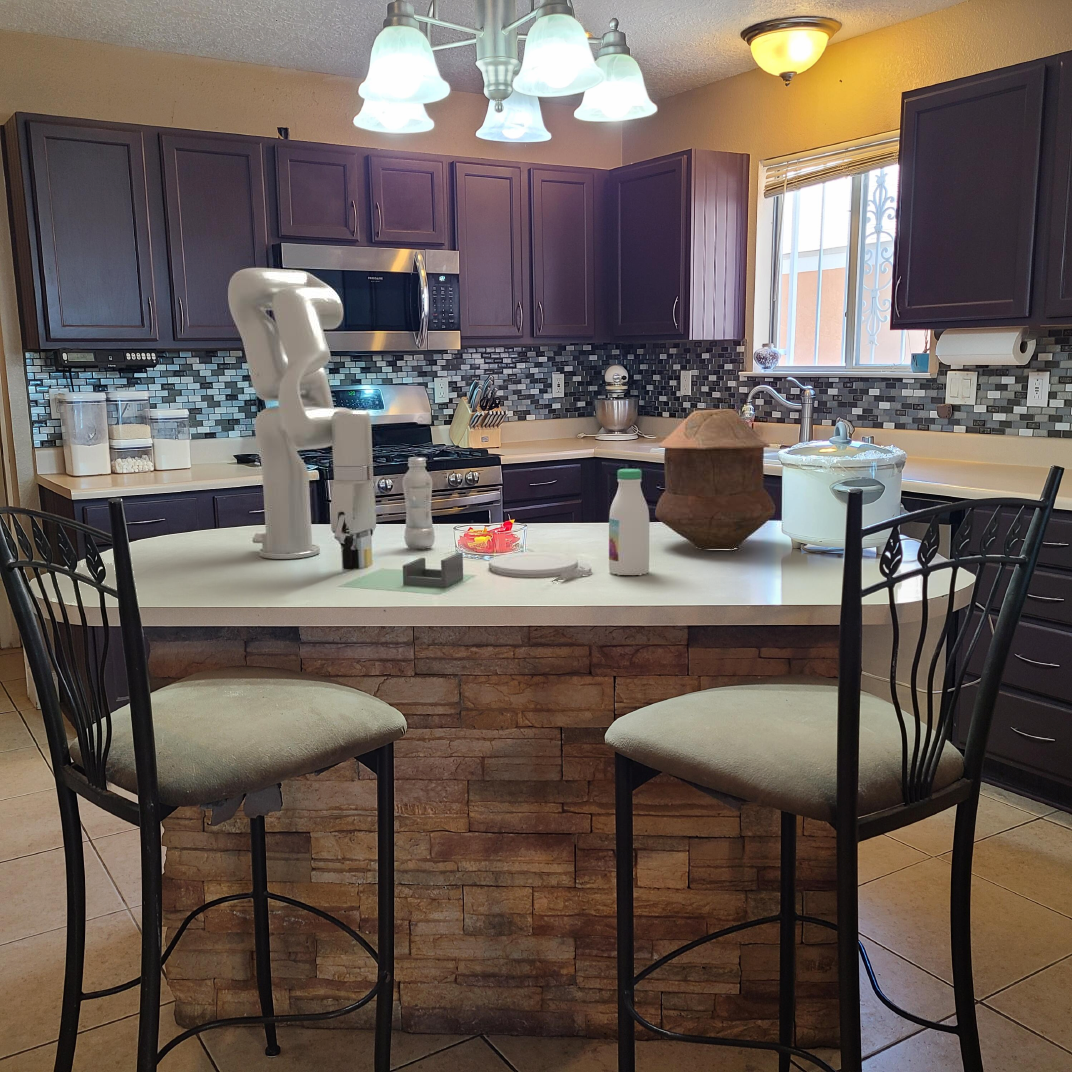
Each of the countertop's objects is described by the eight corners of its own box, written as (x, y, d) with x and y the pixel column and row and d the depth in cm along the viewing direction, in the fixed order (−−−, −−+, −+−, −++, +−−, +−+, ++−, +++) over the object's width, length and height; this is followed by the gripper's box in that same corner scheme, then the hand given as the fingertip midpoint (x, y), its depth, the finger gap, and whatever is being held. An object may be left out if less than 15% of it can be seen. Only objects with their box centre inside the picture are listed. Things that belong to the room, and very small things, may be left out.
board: (338, 592, 177) (338, 586, 177) (382, 574, 192) (381, 568, 192) (439, 601, 170) (439, 594, 170) (476, 581, 185) (476, 575, 185)
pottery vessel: (778, 561, 200) (783, 412, 195) (651, 558, 205) (652, 412, 200) (770, 538, 226) (774, 405, 220) (657, 536, 230) (659, 406, 225)
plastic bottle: (430, 552, 214) (427, 459, 210) (400, 551, 215) (397, 459, 212) (439, 546, 220) (436, 456, 217) (409, 545, 221) (407, 456, 218)
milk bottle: (652, 569, 194) (654, 468, 190) (643, 578, 186) (645, 472, 183) (614, 567, 196) (614, 466, 193) (604, 575, 189) (604, 471, 185)
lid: (601, 582, 185) (601, 566, 184) (495, 587, 181) (494, 571, 181) (581, 564, 201) (581, 549, 201) (483, 568, 198) (483, 554, 197)
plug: (342, 572, 194) (340, 532, 192) (352, 568, 198) (351, 529, 196) (364, 574, 192) (363, 533, 191) (374, 570, 196) (373, 530, 194)
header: (403, 585, 177) (402, 557, 176) (422, 576, 184) (421, 550, 183) (445, 588, 174) (445, 560, 173) (463, 579, 181) (462, 552, 180)
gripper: (358, 469, 200) (362, 557, 204) (312, 478, 185) (317, 574, 188) (391, 470, 198) (394, 560, 201) (347, 479, 182) (352, 577, 186)
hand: (357, 565), depth 195 cm, fingers closed on plug, 4 cm apart
